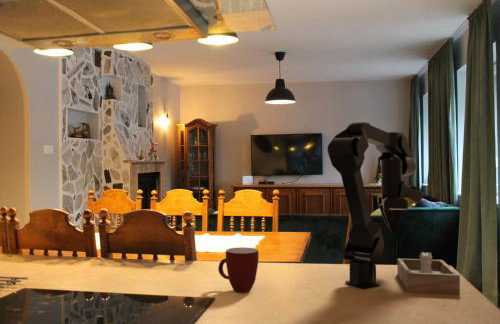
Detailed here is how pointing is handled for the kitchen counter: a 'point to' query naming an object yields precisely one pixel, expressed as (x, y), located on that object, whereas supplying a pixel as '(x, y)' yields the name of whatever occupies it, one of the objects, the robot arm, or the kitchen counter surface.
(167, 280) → the kitchen counter surface
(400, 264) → the bore tray
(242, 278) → the mug
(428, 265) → the rook chess piece
